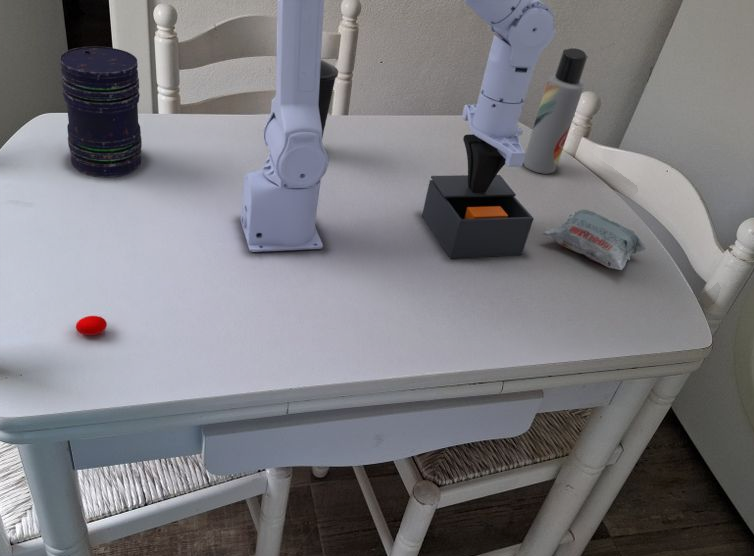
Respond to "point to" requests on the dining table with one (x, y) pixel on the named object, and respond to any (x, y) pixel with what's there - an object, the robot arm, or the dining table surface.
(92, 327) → the candy
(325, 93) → the drinking cup
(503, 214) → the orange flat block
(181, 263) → the dining table surface
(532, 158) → the lotion bottle
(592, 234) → the packaged food
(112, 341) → the dining table surface
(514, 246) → the bin
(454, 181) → the bin flap
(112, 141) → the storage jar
